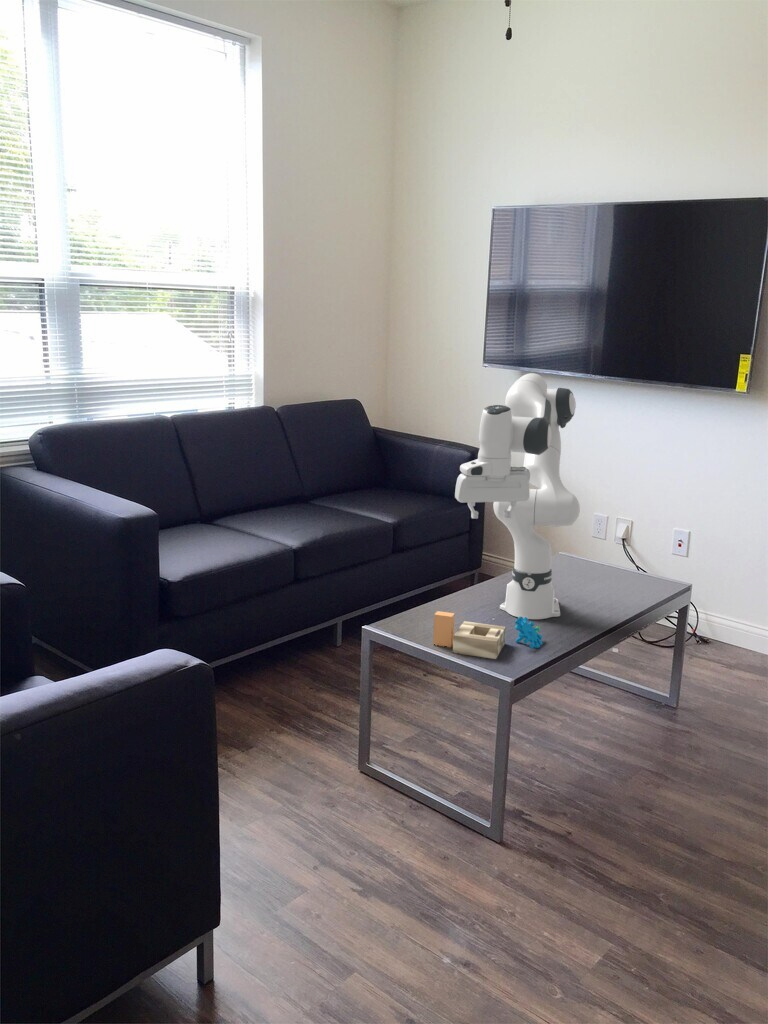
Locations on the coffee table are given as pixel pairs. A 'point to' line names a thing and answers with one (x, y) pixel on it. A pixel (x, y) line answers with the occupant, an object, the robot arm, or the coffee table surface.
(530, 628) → the gear
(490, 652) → the block
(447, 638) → the key peg
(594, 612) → the coffee table surface
